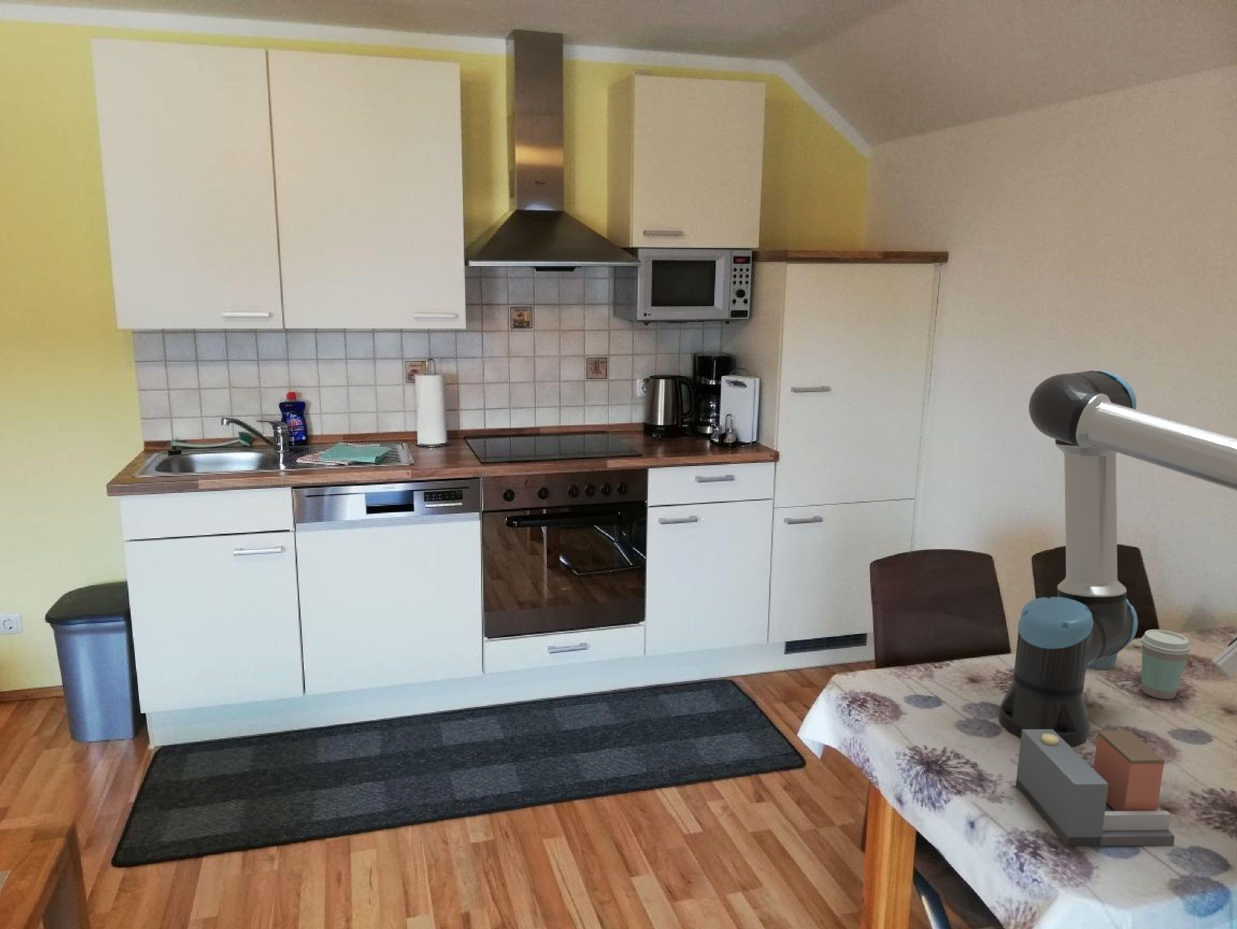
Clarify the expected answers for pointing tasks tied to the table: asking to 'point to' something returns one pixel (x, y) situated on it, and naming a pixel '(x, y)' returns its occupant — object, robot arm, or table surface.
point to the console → (1080, 797)
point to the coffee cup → (1163, 662)
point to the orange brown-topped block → (1128, 771)
